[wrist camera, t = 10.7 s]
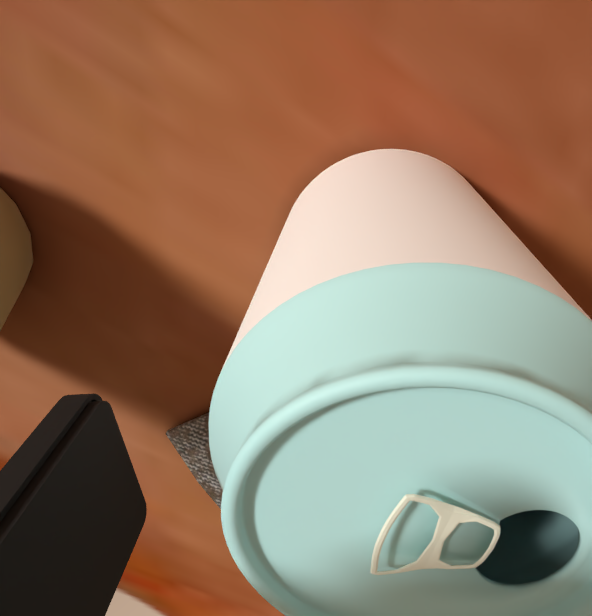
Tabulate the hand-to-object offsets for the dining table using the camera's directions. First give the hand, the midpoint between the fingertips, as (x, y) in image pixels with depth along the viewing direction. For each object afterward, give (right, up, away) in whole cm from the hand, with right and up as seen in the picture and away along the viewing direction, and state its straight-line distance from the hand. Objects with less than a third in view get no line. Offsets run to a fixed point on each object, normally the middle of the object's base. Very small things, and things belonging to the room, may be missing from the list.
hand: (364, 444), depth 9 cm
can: (+2, +5, +9) cm, 10 cm away
